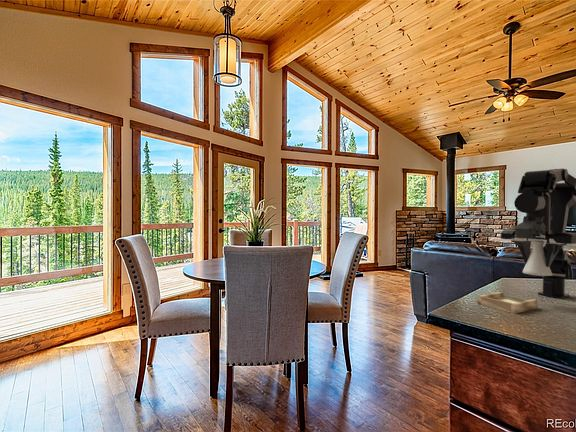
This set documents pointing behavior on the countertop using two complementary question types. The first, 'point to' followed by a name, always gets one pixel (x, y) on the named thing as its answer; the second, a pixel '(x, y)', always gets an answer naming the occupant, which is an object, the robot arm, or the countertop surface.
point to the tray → (506, 302)
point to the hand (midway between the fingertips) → (537, 265)
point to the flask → (537, 261)
